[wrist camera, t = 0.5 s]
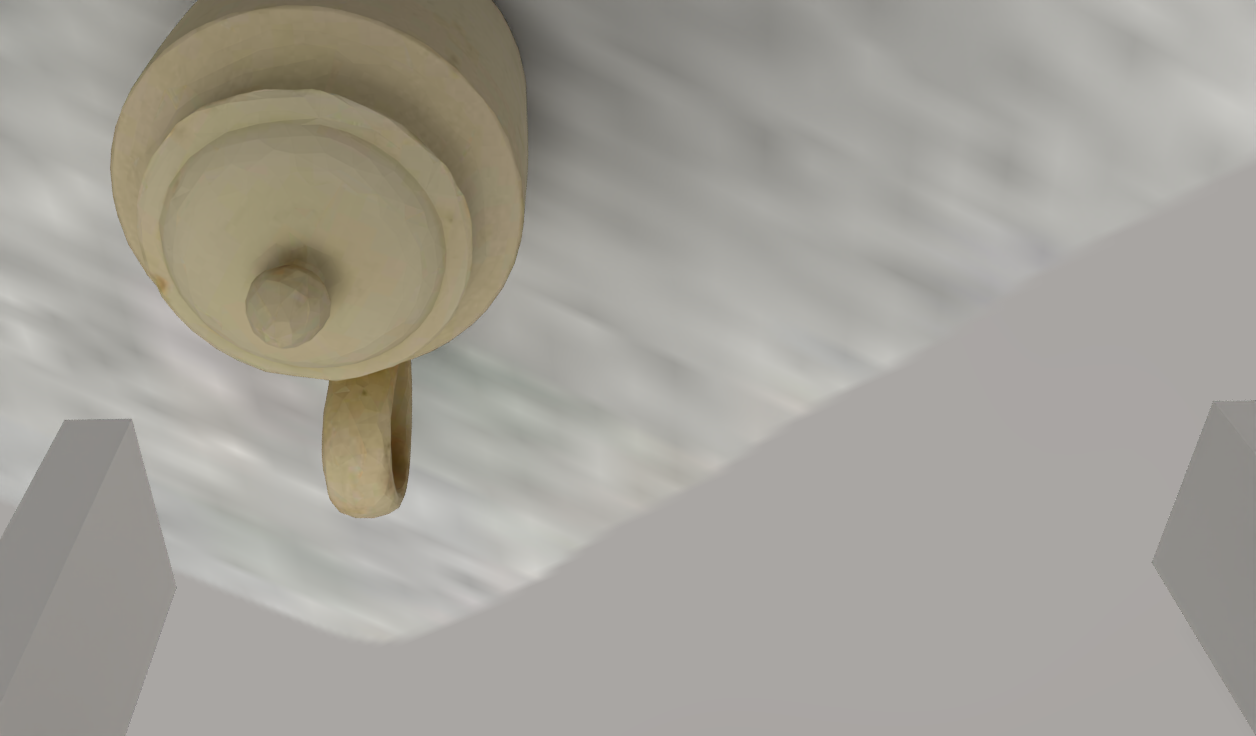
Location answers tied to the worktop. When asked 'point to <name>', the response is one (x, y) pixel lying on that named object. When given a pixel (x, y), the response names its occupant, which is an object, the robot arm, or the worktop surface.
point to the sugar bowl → (330, 198)
